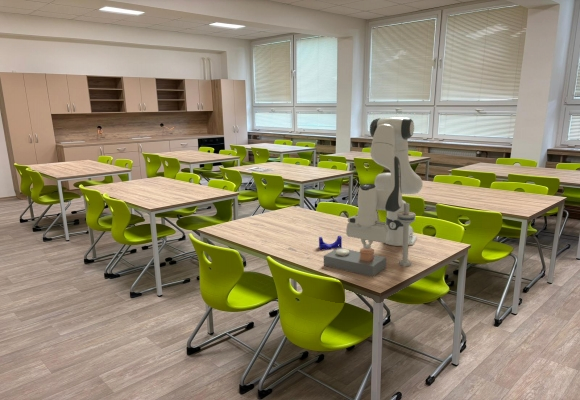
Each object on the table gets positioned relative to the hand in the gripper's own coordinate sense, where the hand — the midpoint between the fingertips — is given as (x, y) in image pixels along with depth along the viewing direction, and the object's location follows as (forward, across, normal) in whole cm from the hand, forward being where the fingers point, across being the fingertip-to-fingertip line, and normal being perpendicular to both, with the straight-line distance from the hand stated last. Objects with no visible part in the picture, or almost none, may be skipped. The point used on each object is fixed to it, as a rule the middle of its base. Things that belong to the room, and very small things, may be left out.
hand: (367, 248), depth 191 cm
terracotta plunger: (+7, 0, 0) cm, 7 cm away
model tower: (+10, -12, -15) cm, 22 cm away
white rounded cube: (+10, +13, 0) cm, 16 cm away
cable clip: (+10, +31, -18) cm, 37 cm away
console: (+10, +6, 0) cm, 12 cm away
